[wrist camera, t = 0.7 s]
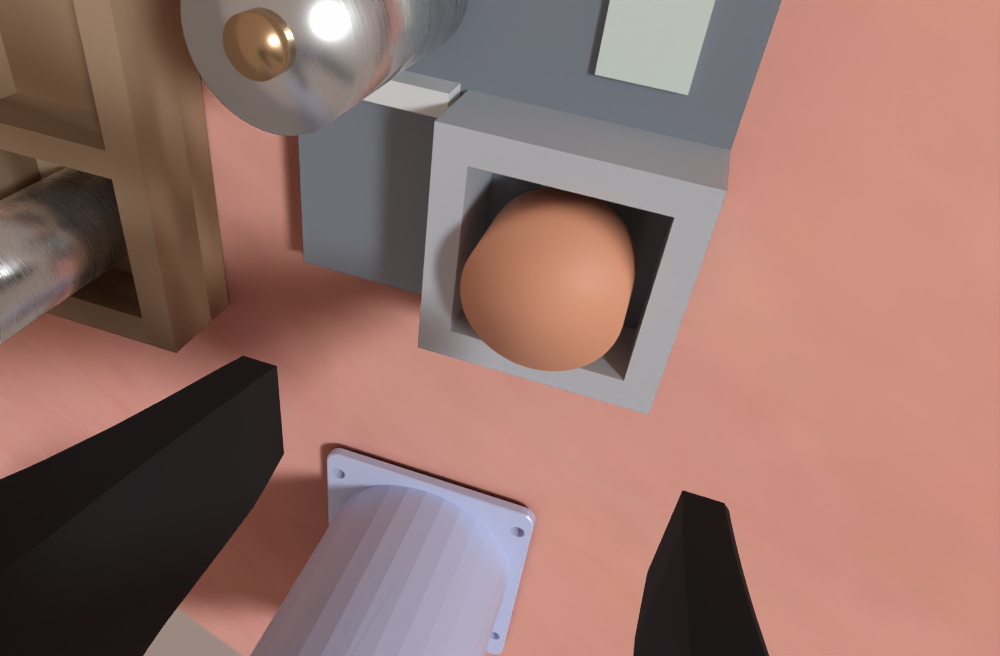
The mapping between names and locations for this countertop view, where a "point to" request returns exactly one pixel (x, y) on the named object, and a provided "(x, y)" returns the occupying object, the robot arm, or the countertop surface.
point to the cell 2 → (309, 53)
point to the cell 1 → (55, 243)
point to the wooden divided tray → (119, 152)
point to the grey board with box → (543, 160)
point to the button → (550, 280)
